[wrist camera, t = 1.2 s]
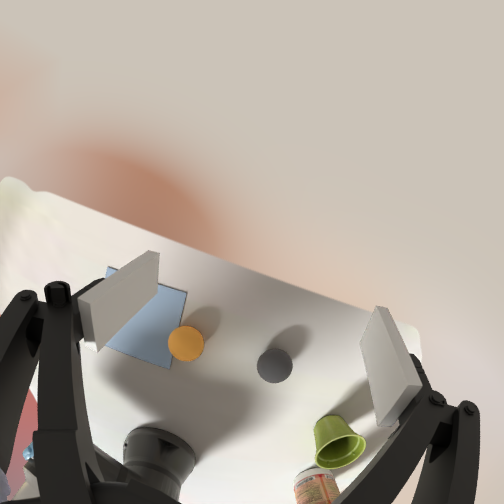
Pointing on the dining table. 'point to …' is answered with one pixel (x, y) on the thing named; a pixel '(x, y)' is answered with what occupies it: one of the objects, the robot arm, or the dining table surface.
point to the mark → (151, 327)
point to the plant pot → (336, 443)
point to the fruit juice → (315, 487)
